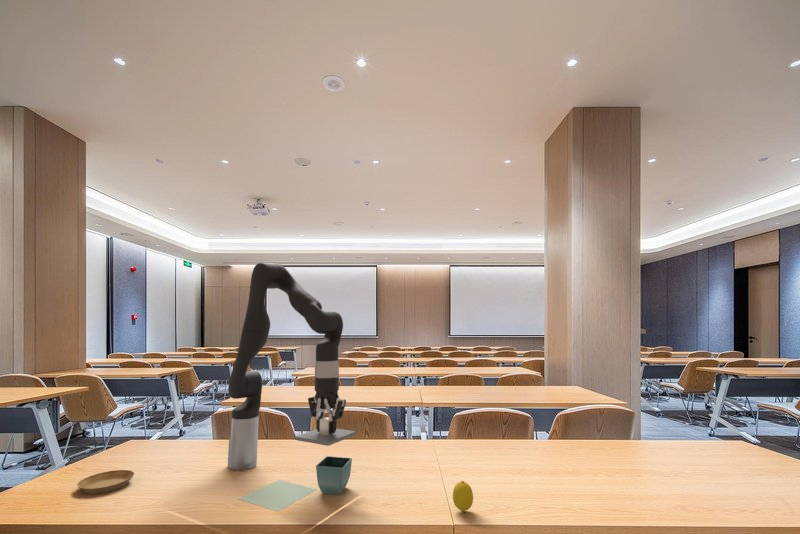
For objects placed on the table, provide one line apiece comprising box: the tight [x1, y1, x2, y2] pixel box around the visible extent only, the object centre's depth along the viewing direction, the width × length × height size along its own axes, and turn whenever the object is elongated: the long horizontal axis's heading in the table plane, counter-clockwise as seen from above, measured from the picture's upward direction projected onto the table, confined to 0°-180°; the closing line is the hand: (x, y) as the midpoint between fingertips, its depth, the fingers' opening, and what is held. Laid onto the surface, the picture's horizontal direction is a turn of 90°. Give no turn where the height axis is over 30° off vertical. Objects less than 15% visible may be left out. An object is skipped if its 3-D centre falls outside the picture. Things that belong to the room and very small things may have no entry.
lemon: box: [452, 480, 474, 513], centre depth 109 cm, size 6×6×8 cm
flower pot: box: [315, 455, 353, 496], centre depth 122 cm, size 9×9×9 cm
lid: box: [294, 417, 357, 447], centre depth 123 cm, size 13×13×5 cm
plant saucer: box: [76, 469, 135, 495], centre depth 127 cm, size 15×15×3 cm
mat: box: [238, 479, 318, 512], centre depth 119 cm, size 16×16×1 cm
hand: (326, 432), depth 122 cm, fingers closed on lid, 4 cm apart
